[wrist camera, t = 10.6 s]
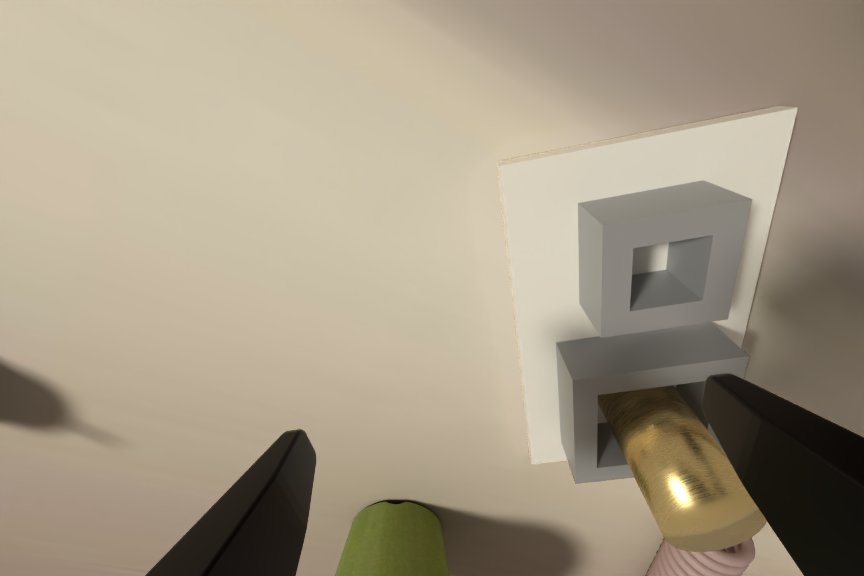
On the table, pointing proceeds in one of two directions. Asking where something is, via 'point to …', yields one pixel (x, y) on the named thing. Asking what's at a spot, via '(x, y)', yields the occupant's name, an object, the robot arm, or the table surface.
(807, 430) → the robot arm
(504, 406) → the table surface
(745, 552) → the coil
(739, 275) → the fitting board
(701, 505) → the cylinder
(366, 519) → the plant pot
